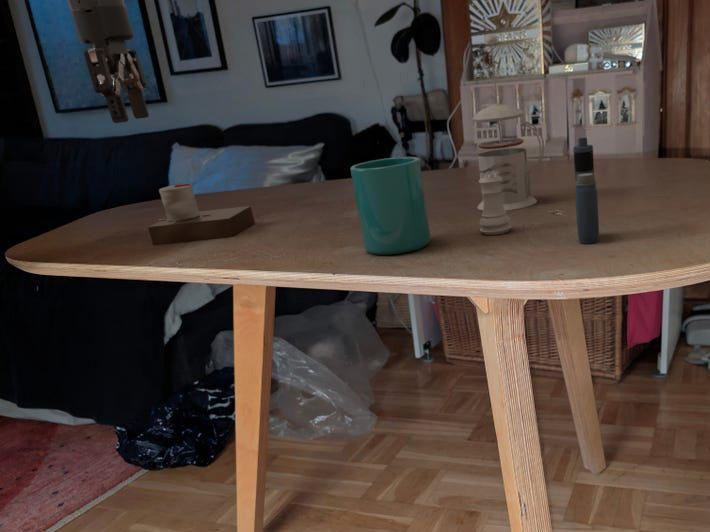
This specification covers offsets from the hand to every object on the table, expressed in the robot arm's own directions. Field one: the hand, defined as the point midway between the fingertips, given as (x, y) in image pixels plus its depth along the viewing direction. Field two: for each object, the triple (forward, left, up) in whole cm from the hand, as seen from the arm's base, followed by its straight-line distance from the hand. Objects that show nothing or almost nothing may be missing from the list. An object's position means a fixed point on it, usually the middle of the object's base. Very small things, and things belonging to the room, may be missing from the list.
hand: (132, 120), depth 111 cm
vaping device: (+69, -27, -20) cm, 76 cm away
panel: (+6, +2, -19) cm, 20 cm away
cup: (+44, -20, -20) cm, 52 cm away
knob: (+3, +2, -16) cm, 17 cm away
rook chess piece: (+57, -18, -20) cm, 63 cm away
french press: (+59, 0, -20) cm, 62 cm away
